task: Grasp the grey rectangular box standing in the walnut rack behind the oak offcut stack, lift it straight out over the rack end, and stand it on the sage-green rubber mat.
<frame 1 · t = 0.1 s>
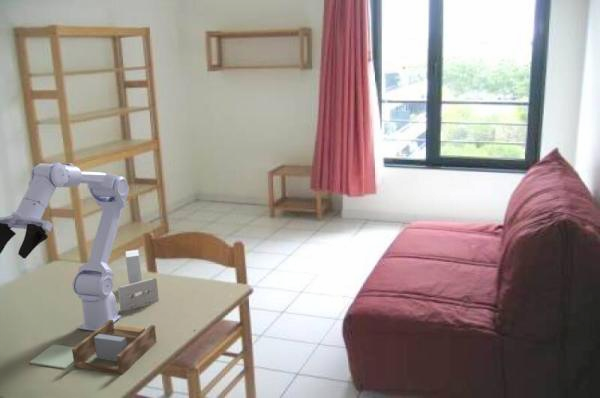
hand: (8, 255, 135), 32 cm above the table, tool tilted 50°, fingers open, 7 cm apart
rack: (117, 354, 153), on the table
offcut: (130, 342, 158), on the table
cassette: (140, 306, 180), on the table
skincare box: (136, 287, 194), on the table
mat: (59, 357, 152), on the table
grey rectangular box: (112, 358, 151), resting in rack
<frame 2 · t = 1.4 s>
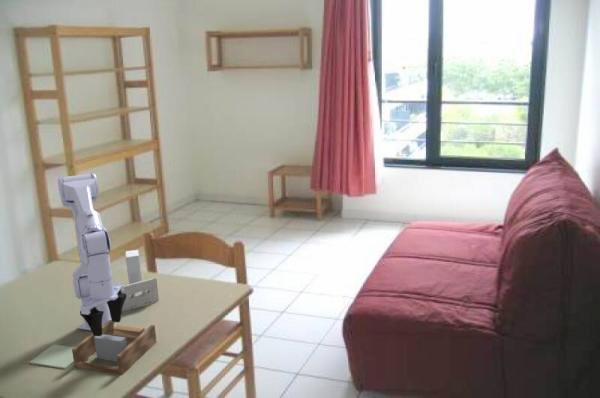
hand: (107, 328, 148), 9 cm above the table, tool pointing down, fingers open, 7 cm apart
nothing on the table moved.
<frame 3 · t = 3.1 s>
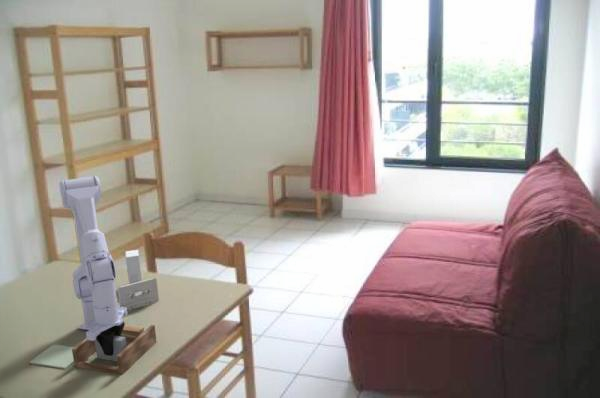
hand: (111, 352, 150), 2 cm above the table, tool pointing down, fingers closed on grey rectangular box, 2 cm apart
grey rectangular box: (112, 358, 151), resting in rack, touching gripper
everything else where it was.
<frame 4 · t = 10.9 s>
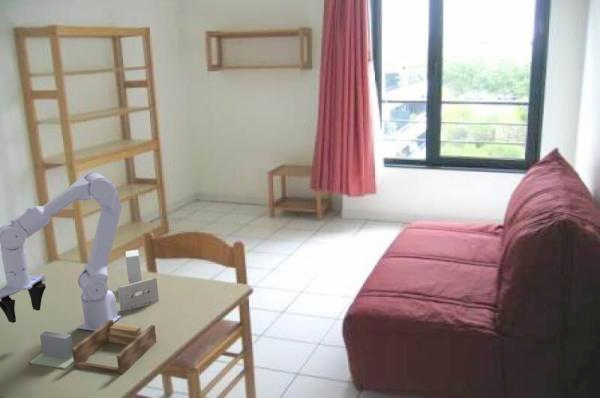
hand: (24, 315, 157), 8 cm above the table, tool pointing down, fingers open, 7 cm apart
grey rectangular box: (58, 355, 152), resting on mat
at the end: grey rectangular box 0.1 cm off-centre on the mat, point 0.4 cm above the mat's base; grey rectangular box tilted 0°; offcut moved 1.5 cm from its start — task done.
